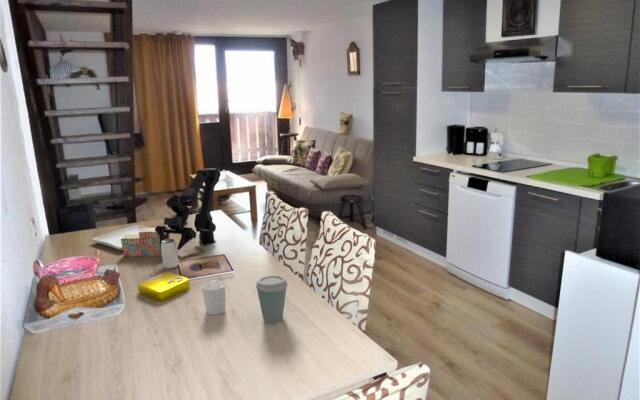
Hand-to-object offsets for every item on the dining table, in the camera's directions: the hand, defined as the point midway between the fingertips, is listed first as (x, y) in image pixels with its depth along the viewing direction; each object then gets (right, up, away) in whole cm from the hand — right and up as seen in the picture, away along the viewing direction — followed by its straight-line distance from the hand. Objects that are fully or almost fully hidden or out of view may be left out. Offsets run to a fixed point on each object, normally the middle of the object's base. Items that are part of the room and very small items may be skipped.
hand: (169, 248), depth 204 cm
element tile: (+5, -15, -22) cm, 27 cm away
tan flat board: (+4, -4, +16) cm, 17 cm away
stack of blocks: (-17, -5, +18) cm, 25 cm away
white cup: (+30, -18, -40) cm, 53 cm away
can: (0, -8, +2) cm, 8 cm away
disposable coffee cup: (+52, -19, -47) cm, 73 cm away
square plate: (-33, 0, +38) cm, 51 cm away
